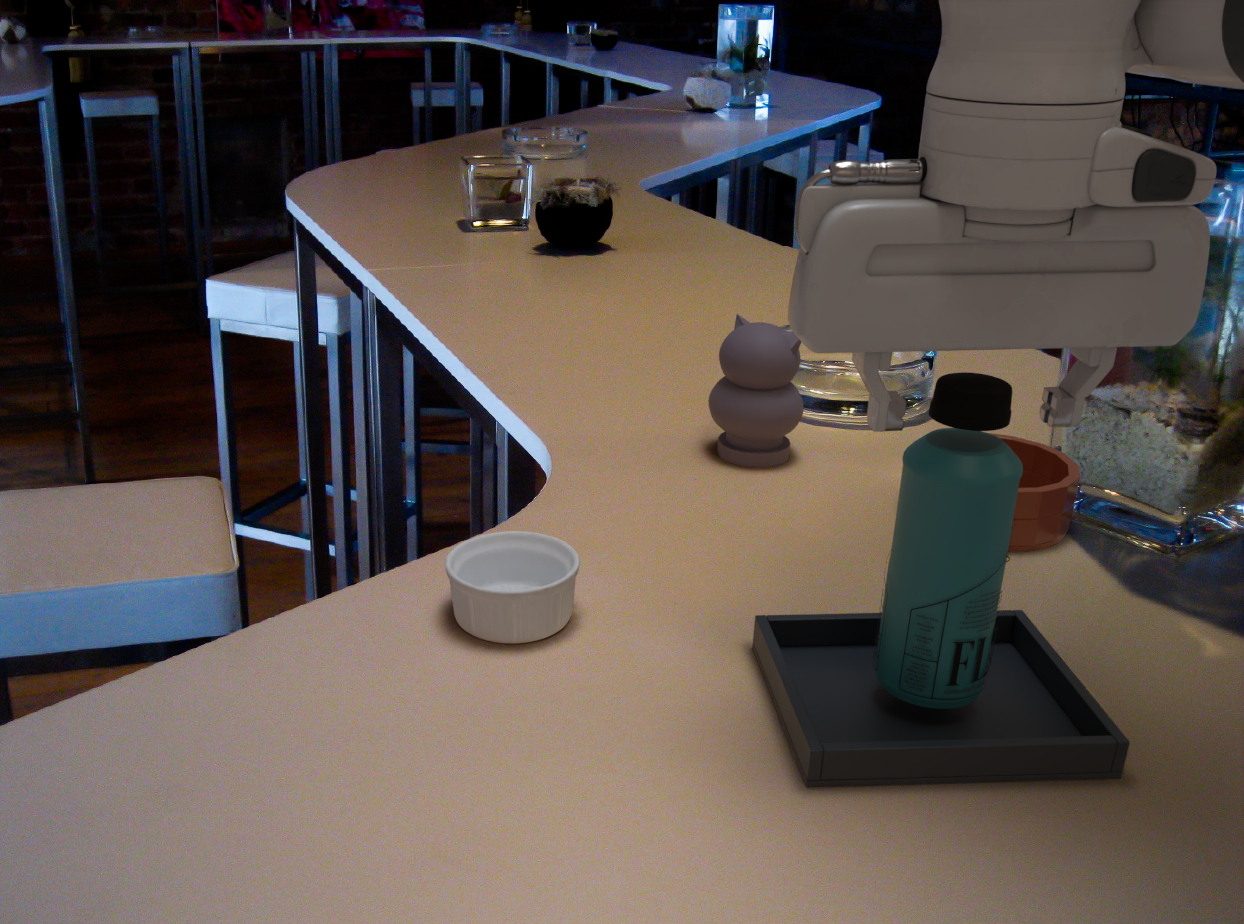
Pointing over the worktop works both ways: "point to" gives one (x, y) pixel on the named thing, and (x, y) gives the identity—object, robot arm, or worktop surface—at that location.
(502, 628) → the ramekin
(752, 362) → the cat figurine
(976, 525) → the beverage bottle
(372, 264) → the worktop surface
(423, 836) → the worktop surface
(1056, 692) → the tray
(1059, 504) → the bowl
